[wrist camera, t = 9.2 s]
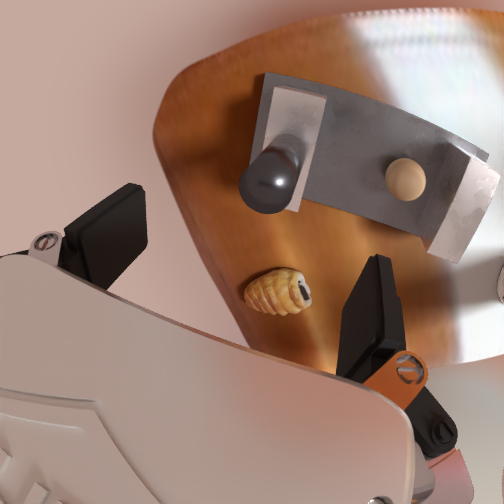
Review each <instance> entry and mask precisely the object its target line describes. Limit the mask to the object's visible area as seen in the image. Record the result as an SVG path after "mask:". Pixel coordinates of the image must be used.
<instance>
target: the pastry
mask: <svg viewBox="0 0 504 504" xmlns="http://www.w3.org/2000/svg"><path fill="white" fill-rule="evenodd" d="M310 293H311V291H310V288H309V287H308V285H307V284H306V283H305V278H304V276H303V274H302V273H300V272H299V271H295V270H292V269H287V268H282V269H278V270H273V271H271V272H268V273H267V274H264V275H262V276H261V277H259V278H257V279H255V280H254V281H252V282H250V283H249V284H248V286H247V287H246V289H245V291H244V299H245V301H246V304H247V306H248V307H250V308H252V309H253V310H256V311H261V312H262V313H270V314H272V315H275V314H280V315H282V316H284V315H286V314H288V313H292V314H297V313H299V312H300V311H301V310H302V309H305V308H307V307H309V306H310V305H311V304H312V298H311V295H310Z"/></svg>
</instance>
